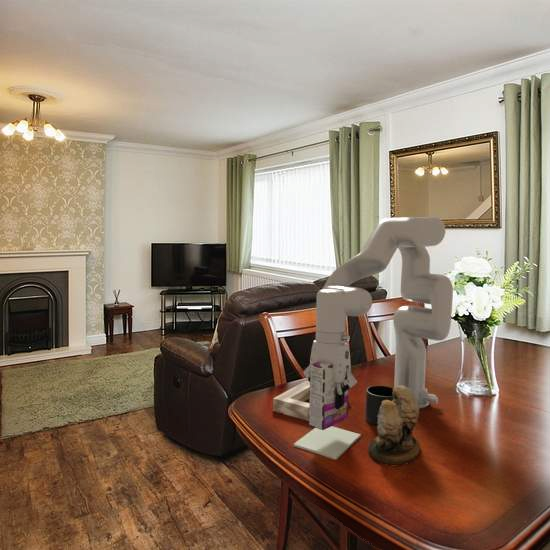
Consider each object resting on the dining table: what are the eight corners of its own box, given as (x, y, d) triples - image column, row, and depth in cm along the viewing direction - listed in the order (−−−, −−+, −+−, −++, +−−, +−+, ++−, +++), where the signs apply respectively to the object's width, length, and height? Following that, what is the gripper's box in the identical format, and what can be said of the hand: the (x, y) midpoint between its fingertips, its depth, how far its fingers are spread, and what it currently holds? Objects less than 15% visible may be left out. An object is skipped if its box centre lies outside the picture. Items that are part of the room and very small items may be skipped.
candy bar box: (333, 412, 121) (335, 354, 120) (348, 418, 118) (351, 359, 116) (307, 424, 113) (309, 363, 112) (322, 431, 110) (325, 367, 108)
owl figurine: (384, 430, 123) (386, 371, 121) (427, 442, 116) (430, 379, 115) (359, 457, 107) (362, 390, 106) (407, 472, 101) (411, 401, 100)
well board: (348, 402, 143) (348, 390, 142) (319, 423, 126) (319, 410, 126) (305, 391, 152) (305, 380, 151) (273, 410, 135) (273, 398, 135)
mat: (360, 436, 119) (360, 434, 119) (335, 459, 106) (335, 457, 106) (321, 425, 125) (321, 423, 125) (293, 446, 113) (293, 443, 113)
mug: (404, 415, 133) (405, 386, 132) (392, 430, 122) (393, 399, 122) (374, 408, 138) (375, 380, 137) (360, 422, 127) (361, 392, 127)
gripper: (367, 339, 111) (365, 408, 113) (308, 330, 121) (307, 393, 123) (355, 345, 105) (353, 417, 107) (294, 335, 115) (293, 402, 116)
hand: (328, 404), depth 115 cm, fingers closed on candy bar box, 5 cm apart
